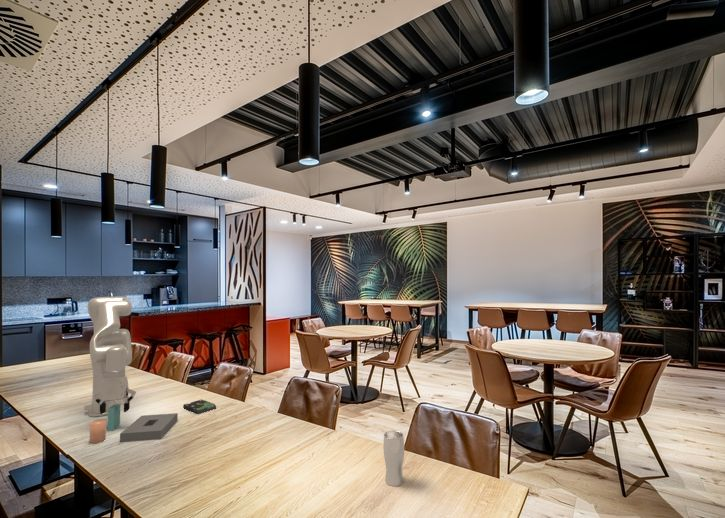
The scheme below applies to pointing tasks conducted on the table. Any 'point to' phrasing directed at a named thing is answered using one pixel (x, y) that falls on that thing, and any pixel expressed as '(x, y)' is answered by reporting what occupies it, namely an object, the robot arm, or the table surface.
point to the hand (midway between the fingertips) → (114, 412)
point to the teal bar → (113, 417)
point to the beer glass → (394, 457)
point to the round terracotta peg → (97, 431)
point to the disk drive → (199, 406)
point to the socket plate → (149, 427)
